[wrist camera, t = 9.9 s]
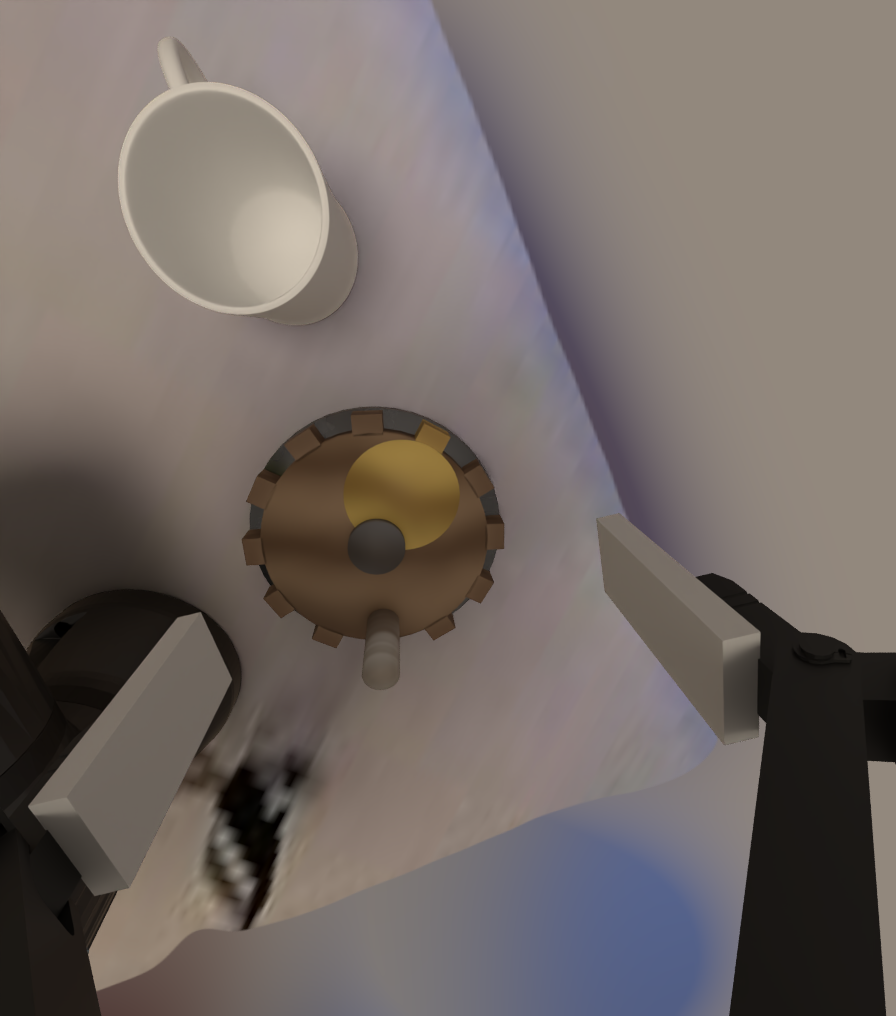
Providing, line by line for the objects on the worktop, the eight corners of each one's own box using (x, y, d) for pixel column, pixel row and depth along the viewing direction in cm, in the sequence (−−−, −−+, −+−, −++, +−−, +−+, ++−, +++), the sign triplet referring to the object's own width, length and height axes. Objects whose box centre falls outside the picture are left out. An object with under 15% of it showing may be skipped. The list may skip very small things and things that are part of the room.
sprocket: (228, 416, 32) (179, 440, 25) (500, 405, 34) (529, 424, 27) (270, 647, 39) (240, 721, 31) (498, 629, 40) (520, 695, 33)
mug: (168, 131, 28) (13, -5, 17) (311, 90, 28) (253, -75, 17) (251, 341, 32) (172, 345, 21) (375, 305, 32) (364, 289, 21)
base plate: (233, 605, 38) (230, 610, 38) (279, 372, 33) (276, 373, 32) (456, 651, 42) (457, 657, 41) (531, 448, 36) (534, 450, 36)
